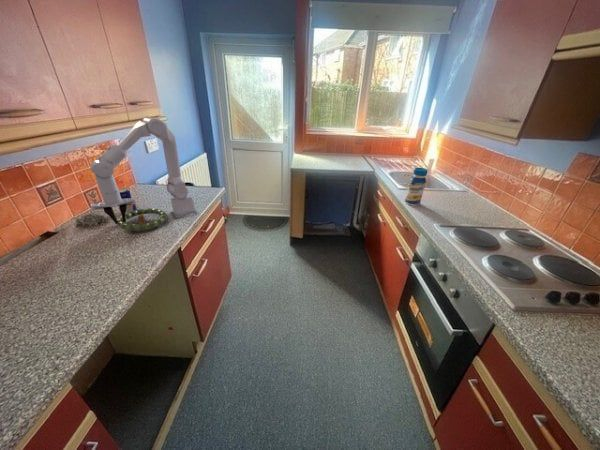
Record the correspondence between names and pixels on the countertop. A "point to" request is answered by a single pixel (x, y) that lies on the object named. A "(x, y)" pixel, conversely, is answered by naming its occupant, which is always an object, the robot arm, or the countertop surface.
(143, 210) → the ring
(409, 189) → the beverage bottle
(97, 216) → the egg carton
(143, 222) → the ring stand
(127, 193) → the energy drink
